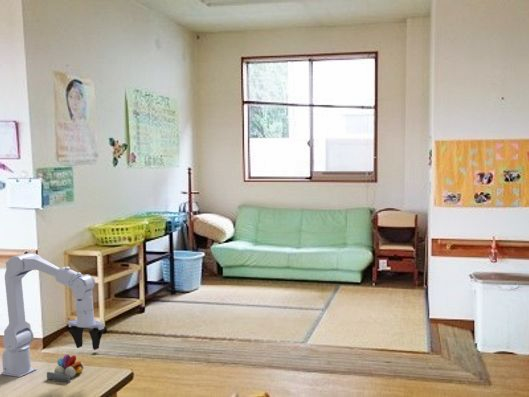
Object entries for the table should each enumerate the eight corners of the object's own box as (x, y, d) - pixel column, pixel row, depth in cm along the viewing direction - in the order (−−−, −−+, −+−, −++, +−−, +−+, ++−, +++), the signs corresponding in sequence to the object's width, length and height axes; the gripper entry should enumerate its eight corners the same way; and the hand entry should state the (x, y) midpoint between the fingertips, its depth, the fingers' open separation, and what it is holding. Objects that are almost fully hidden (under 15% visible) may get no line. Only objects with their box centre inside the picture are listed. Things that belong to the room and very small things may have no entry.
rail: (47, 379, 202) (46, 372, 202) (48, 378, 202) (48, 371, 202) (68, 383, 198) (68, 376, 197) (70, 382, 198) (70, 375, 198)
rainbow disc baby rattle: (75, 379, 201) (74, 359, 201) (50, 378, 203) (49, 358, 203) (87, 370, 209) (86, 351, 209) (63, 369, 211) (62, 350, 211)
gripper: (108, 308, 201) (111, 346, 202) (77, 306, 207) (80, 342, 208) (95, 313, 195) (97, 352, 195) (63, 310, 201) (65, 348, 202)
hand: (87, 348), depth 201 cm, fingers open, 7 cm apart
